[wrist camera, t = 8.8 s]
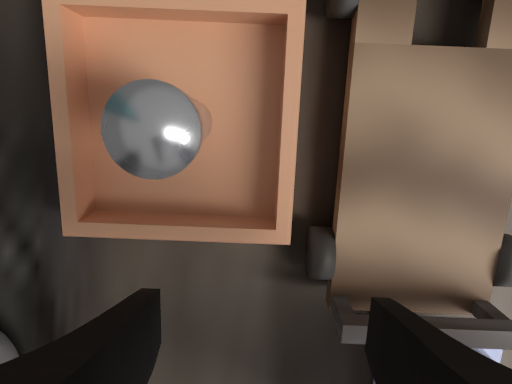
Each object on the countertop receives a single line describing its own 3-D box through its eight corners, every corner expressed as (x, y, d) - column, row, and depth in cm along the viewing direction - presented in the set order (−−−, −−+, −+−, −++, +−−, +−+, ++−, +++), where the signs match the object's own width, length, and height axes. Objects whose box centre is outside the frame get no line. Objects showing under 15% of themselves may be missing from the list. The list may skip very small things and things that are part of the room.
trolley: (480, 293, 23) (550, 351, 17) (302, 286, 22) (316, 342, 17) (553, -62, 18) (678, -136, 13) (329, -72, 18) (361, -149, 13)
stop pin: (220, 154, 20) (198, 182, 12) (159, 150, 20) (102, 176, 12) (222, 92, 19) (202, 82, 12) (159, 87, 19) (98, 75, 12)
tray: (285, 226, 22) (290, 244, 19) (89, 218, 21) (62, 236, 19) (299, 13, 19) (306, -5, 16) (73, 3, 19) (40, -17, 16)
